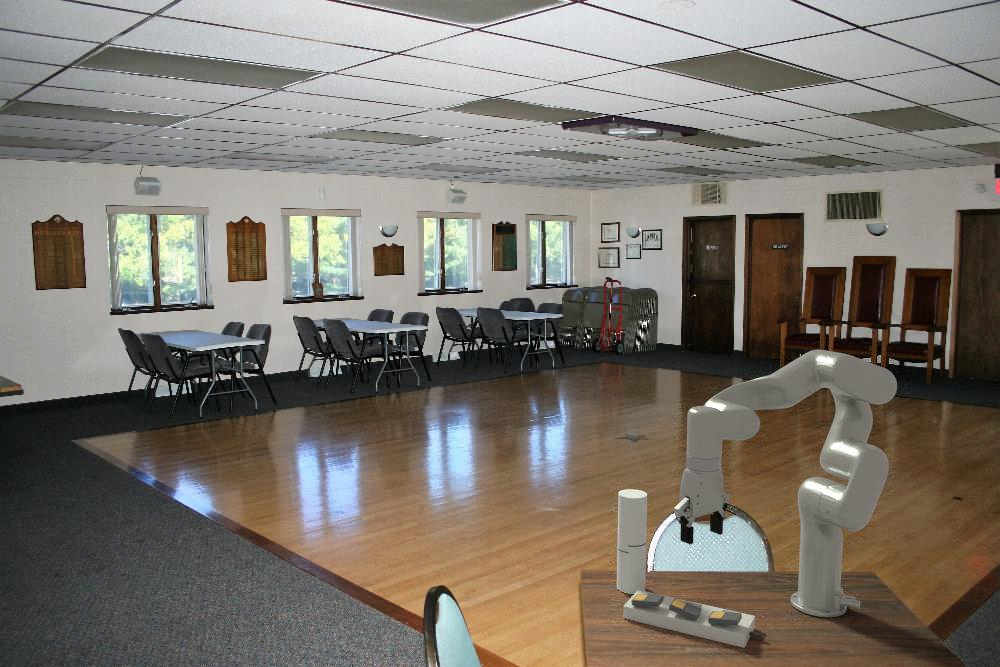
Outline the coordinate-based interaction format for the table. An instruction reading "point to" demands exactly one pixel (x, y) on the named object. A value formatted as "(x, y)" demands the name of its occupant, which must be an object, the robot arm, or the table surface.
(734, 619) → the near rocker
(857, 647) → the table surface
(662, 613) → the power strip
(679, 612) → the middle rocker
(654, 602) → the far rocker
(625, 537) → the cylindrical container
